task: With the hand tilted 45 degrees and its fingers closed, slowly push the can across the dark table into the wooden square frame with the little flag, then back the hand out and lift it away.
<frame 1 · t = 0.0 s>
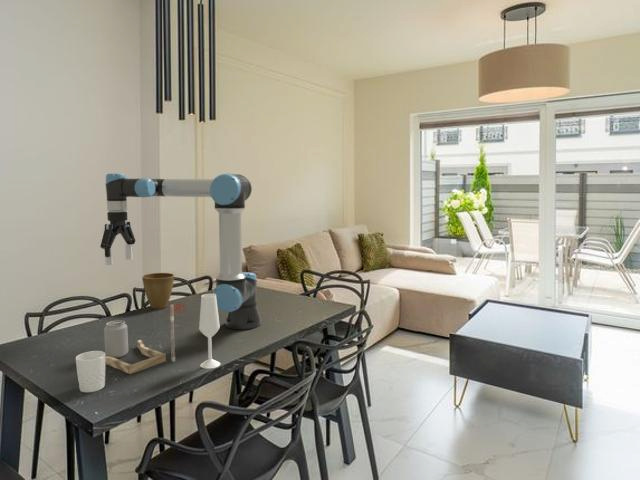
hand: (119, 262, 187), 28 cm above the table, tool pointing down, fingers open, 13 cm apart
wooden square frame: (135, 362, 153), on the table
champagne flute: (210, 365, 152), on the table
plant pot: (159, 307, 222), on the table
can: (117, 355, 160), on the table
white cup: (92, 388, 134), on the table
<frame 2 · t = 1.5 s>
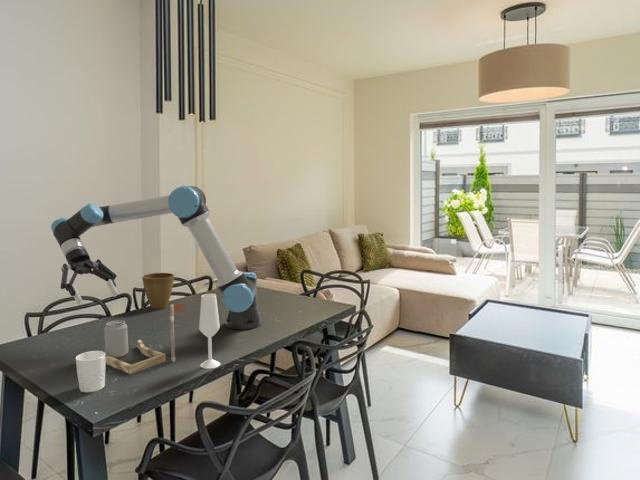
hand: (98, 298, 164), 19 cm above the table, tool tilted 45°, fingers open, 13 cm apart
nothing on the table moved.
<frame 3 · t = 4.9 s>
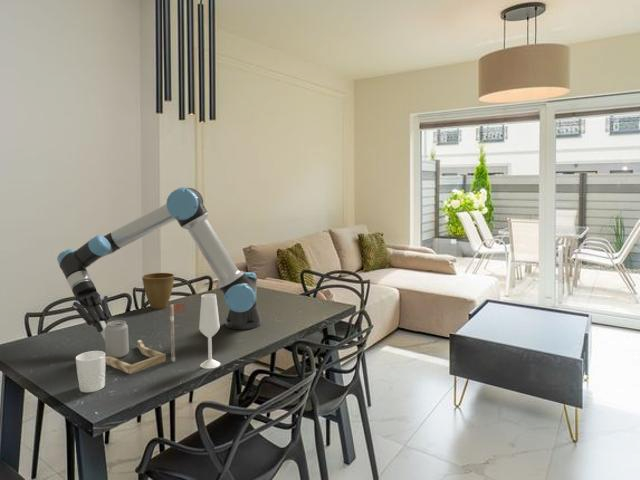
hand: (108, 337, 161), 6 cm above the table, tool tilted 45°, fingers closed
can: (117, 355, 159), on the table, touching gripper
everything else where it was.
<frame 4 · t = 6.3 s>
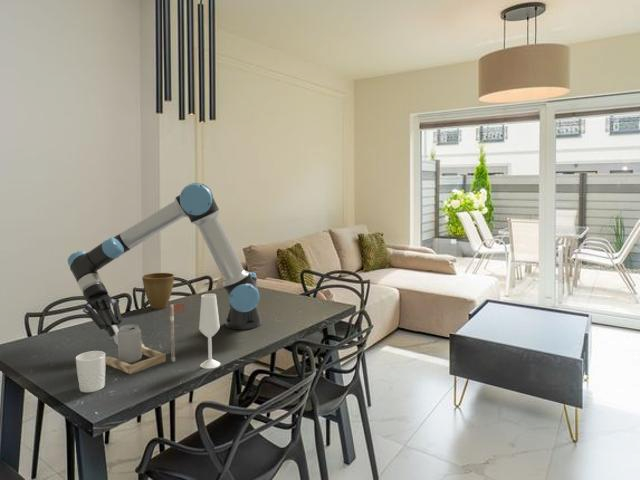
hand: (120, 342, 156), 6 cm above the table, tool tilted 45°, fingers closed
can: (130, 360, 155), on the table, touching gripper
everything else where it was.
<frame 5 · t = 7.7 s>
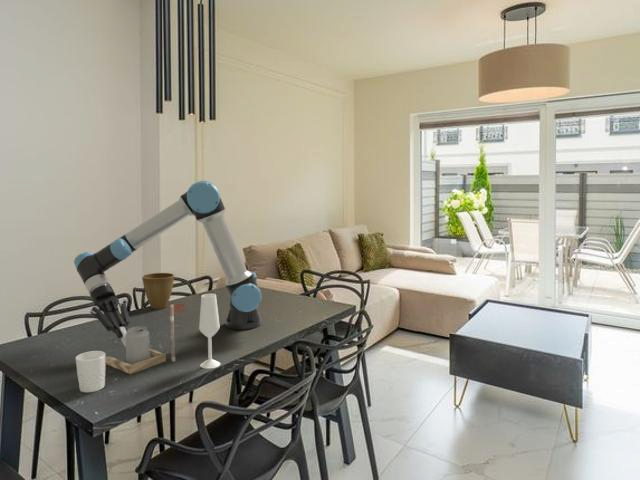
hand: (128, 344, 154), 6 cm above the table, tool tilted 45°, fingers closed
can: (138, 363, 153), on the table, touching gripper
everything else where it was.
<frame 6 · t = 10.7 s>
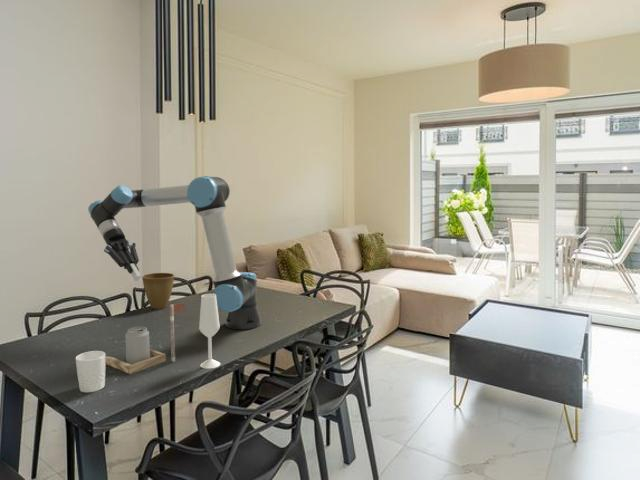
hand: (138, 278, 175), 24 cm above the table, tool tilted 45°, fingers closed
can: (138, 363, 153), on the table
everything else where it was.
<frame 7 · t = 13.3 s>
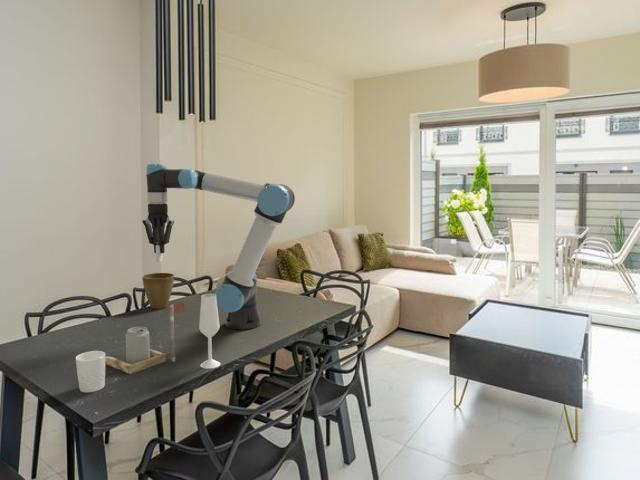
hand: (159, 261, 182), 29 cm above the table, tool pointing down, fingers closed
nothing on the table moved.
at the end: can inside the target area (0.8 cm from its centre), on the table; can tilted 0°; the gripper is holding nothing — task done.
